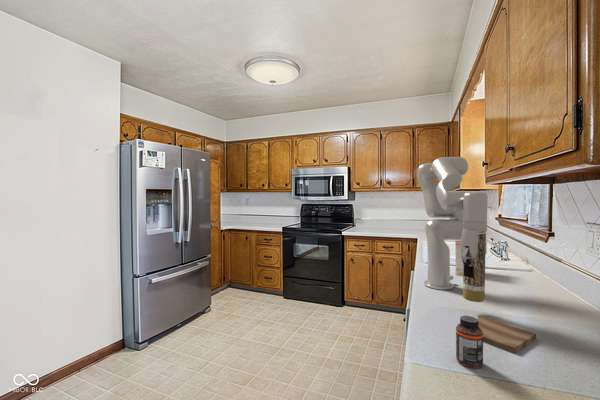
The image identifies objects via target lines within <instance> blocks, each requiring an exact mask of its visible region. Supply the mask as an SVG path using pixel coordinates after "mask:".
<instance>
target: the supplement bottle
mask: <svg viewBox="0 0 600 400" xmlns="http://www.w3.org/2000/svg"><path fill="white" fill-rule="evenodd" d="M459 318H460V319H459V320H460V321H459V323H458V324H457V325H456V326H455V350H456V351H455V358H456V361H457V362H458V363H459V364H461V365H462V366H464V367H466V368H468V369H469V368H470V369H480V368H482V367H483V366H484V342H483V331H482V329H481V328H480V327H479V326H478V325H479V324H478V318H476V317H475V316H470V315H461V316H460V317H459Z"/></svg>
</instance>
